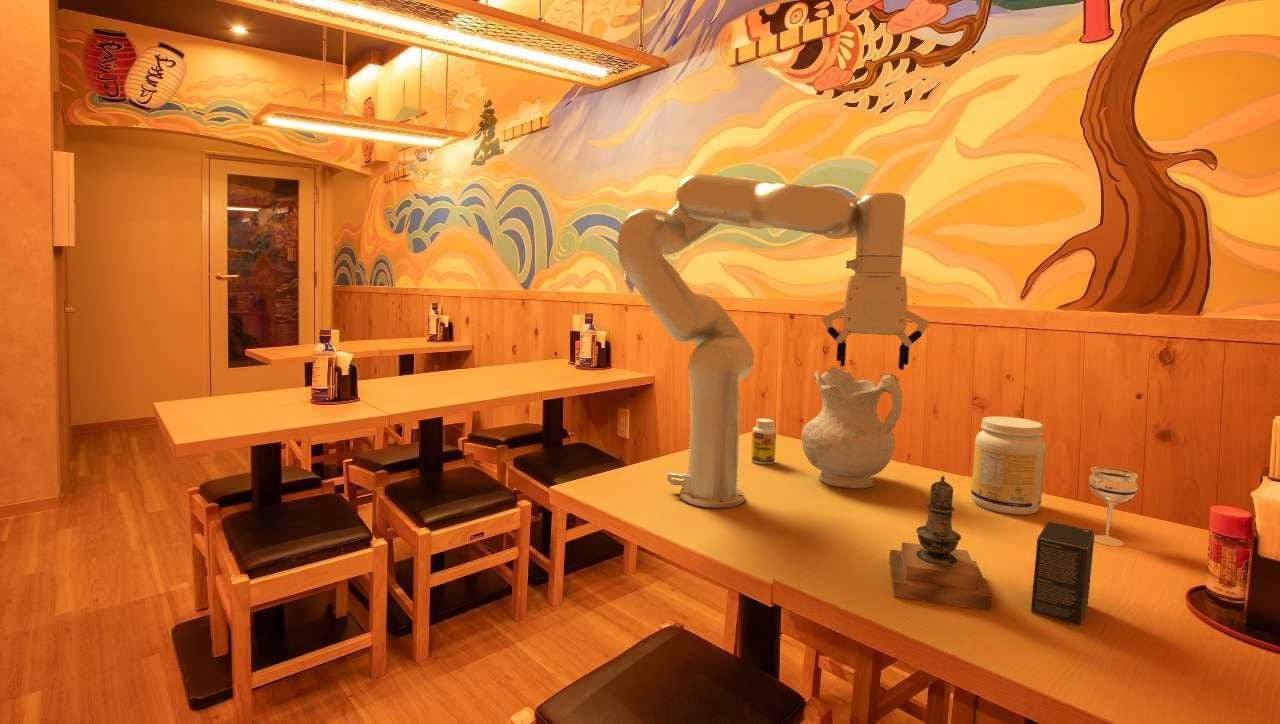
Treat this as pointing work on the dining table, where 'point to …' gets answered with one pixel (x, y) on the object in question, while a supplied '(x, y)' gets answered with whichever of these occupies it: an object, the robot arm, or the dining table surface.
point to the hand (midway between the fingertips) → (871, 367)
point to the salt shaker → (938, 527)
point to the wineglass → (1112, 494)
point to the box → (1062, 572)
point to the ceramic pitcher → (851, 429)
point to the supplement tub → (1009, 465)
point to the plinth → (938, 579)
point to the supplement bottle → (763, 442)
